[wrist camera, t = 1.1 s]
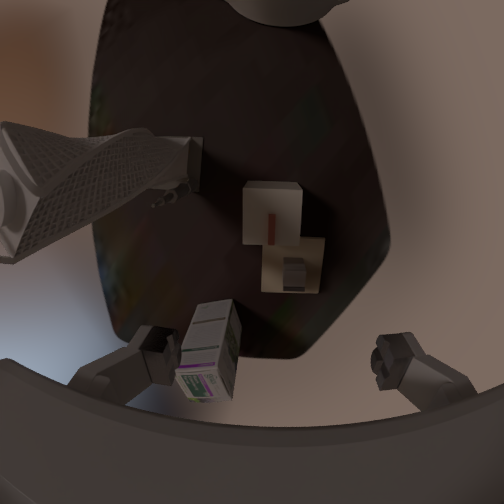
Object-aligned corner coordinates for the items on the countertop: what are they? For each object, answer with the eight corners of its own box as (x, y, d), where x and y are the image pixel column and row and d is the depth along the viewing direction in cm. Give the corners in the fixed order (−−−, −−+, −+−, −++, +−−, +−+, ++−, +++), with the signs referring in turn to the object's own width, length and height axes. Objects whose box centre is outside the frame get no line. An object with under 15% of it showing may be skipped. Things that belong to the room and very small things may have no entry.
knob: (247, 180, 32) (242, 189, 26) (296, 182, 32) (303, 191, 26) (247, 227, 35) (242, 246, 28) (294, 229, 34) (299, 248, 28)
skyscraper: (141, 187, 34) (-40, 281, 8) (143, 128, 31) (-58, 141, 5) (199, 191, 34) (36, 321, 8) (204, 128, 31) (11, 104, 5)
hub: (263, 235, 35) (261, 249, 30) (324, 237, 35) (331, 251, 30) (261, 289, 38) (260, 308, 33) (317, 291, 38) (323, 310, 33)
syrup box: (196, 303, 40) (167, 372, 26) (234, 297, 39) (217, 370, 25) (209, 332, 42) (187, 403, 28) (244, 327, 41) (233, 402, 27)
